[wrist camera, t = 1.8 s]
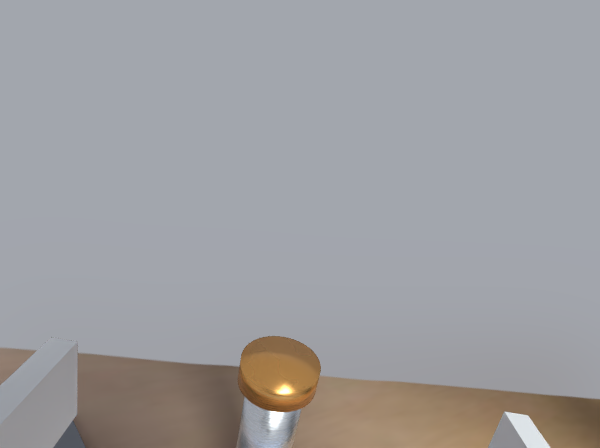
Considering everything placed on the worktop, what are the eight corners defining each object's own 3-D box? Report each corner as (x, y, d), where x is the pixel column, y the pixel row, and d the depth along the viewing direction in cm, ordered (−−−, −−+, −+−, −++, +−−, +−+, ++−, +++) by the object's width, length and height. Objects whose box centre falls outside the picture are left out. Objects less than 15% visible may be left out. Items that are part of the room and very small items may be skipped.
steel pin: (298, 518, 27) (336, 369, 23) (244, 568, 24) (277, 404, 20) (257, 467, 30) (284, 328, 26) (203, 505, 27) (224, 352, 23)
